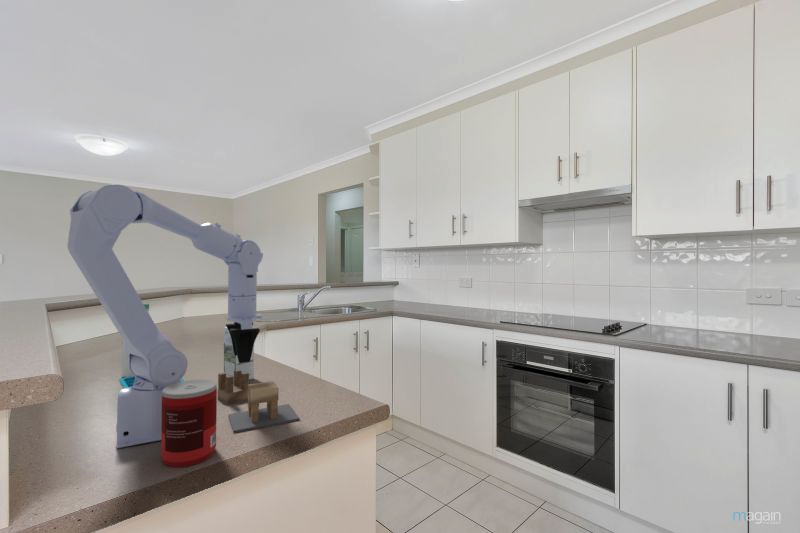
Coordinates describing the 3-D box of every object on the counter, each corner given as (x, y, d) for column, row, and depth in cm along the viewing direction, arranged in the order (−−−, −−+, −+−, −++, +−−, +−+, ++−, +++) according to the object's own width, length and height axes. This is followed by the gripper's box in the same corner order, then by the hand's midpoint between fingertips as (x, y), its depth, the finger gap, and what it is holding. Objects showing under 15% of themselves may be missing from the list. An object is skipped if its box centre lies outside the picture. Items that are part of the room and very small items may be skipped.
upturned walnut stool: (227, 405, 83) (227, 377, 83) (217, 400, 86) (217, 373, 86) (249, 399, 86) (249, 373, 86) (238, 394, 90) (239, 369, 90)
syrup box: (255, 378, 102) (255, 325, 103) (235, 384, 97) (235, 328, 98) (242, 375, 105) (242, 323, 106) (222, 380, 100) (222, 326, 101)
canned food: (203, 439, 65) (203, 376, 66) (225, 454, 60) (225, 385, 60) (153, 456, 59) (153, 387, 60) (172, 474, 54) (173, 397, 55)
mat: (233, 432, 68) (233, 430, 68) (228, 416, 76) (228, 414, 76) (299, 420, 74) (299, 418, 74) (288, 405, 82) (288, 403, 82)
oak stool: (278, 418, 74) (278, 387, 74) (251, 423, 72) (251, 391, 72) (273, 409, 78) (273, 380, 78) (247, 414, 76) (247, 384, 76)
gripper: (268, 297, 77) (267, 363, 77) (256, 293, 90) (256, 350, 90) (230, 298, 74) (230, 367, 74) (223, 294, 86) (223, 353, 86)
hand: (241, 358), depth 81 cm, fingers open, 7 cm apart
